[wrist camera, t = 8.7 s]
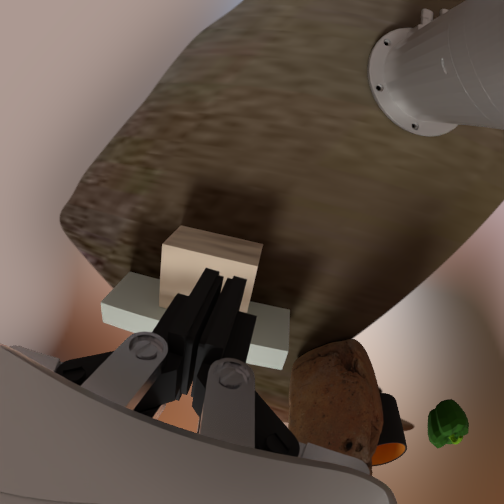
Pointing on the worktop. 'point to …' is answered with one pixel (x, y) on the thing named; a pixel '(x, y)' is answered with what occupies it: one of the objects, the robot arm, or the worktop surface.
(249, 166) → the worktop surface
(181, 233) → the beech block
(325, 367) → the brown rounded tall lump
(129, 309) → the sage board
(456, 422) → the bell pepper
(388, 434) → the mug
